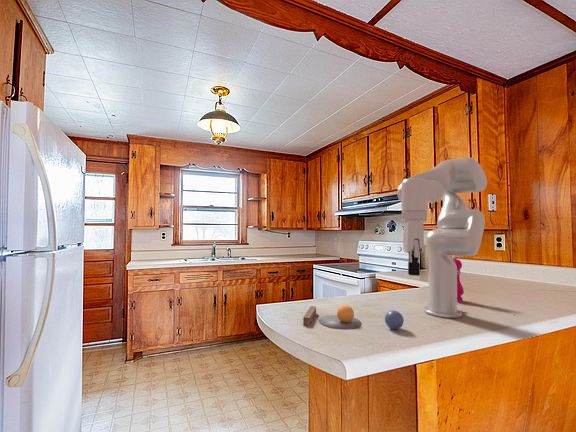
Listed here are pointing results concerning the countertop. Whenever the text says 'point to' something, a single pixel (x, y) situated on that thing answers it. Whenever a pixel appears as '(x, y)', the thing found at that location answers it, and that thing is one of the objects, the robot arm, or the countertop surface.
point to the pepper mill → (458, 279)
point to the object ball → (345, 313)
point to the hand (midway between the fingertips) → (413, 274)
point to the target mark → (338, 322)
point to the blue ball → (394, 319)
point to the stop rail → (309, 316)
